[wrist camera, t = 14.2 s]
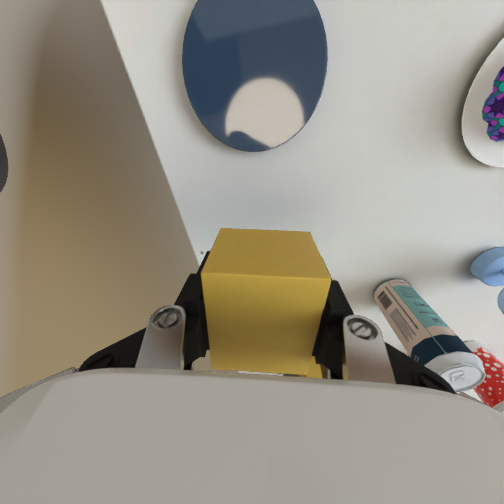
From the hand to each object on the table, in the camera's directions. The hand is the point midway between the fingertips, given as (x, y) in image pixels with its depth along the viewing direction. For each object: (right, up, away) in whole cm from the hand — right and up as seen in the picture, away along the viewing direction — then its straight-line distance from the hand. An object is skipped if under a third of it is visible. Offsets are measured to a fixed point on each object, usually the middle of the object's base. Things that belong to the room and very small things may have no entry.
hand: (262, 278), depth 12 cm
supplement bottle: (+18, -4, +18) cm, 26 cm away
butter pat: (0, 0, 0) cm, 0 cm away
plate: (0, +17, +7) cm, 18 cm away
